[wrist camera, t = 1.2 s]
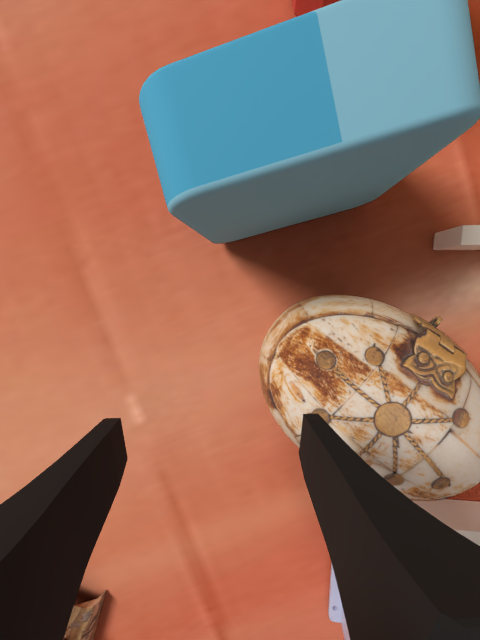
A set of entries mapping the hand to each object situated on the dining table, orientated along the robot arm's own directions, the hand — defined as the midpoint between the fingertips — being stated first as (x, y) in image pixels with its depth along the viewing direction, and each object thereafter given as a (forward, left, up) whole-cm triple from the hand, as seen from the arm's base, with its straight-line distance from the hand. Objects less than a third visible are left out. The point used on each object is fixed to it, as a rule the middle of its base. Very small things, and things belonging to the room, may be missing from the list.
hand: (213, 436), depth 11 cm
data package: (+12, -3, -12) cm, 18 cm away
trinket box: (-2, -9, -13) cm, 16 cm away
